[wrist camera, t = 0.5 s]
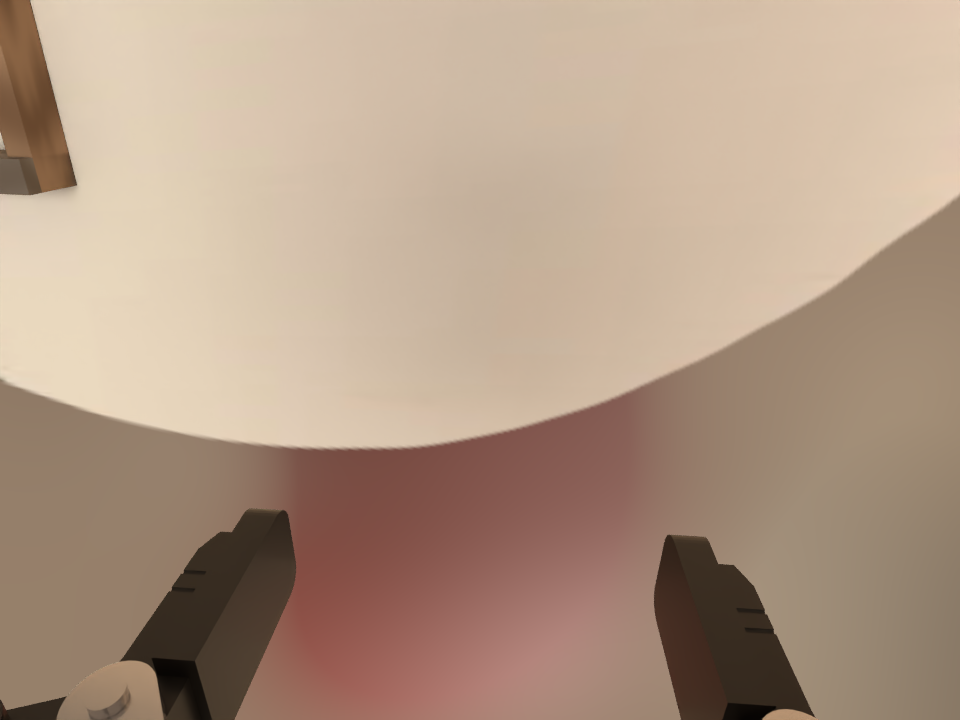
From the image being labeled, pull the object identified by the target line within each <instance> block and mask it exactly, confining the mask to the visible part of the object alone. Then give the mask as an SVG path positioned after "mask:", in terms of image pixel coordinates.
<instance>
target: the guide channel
mask: <svg viewBox="0 0 960 720" xmlns="http://www.w3.org/2000/svg"><path fill="white" fill-rule="evenodd" d="M0 132H1V135H2V139H3V142H4V145H5V149H6V150H0V194H15V195H33V194H37V193H42V192H47V191H51V190H56V189H61V188H66V187H70V186H75V185H77V184H76V180H75V177H74V173H73V169H72V165H71V161H70V157H69V153H68V149H67V145H66V141H65V137H64V133H63V130H62V126H61V122H60V118H59V114H58V110H57V106H56V102H55V98H54V94H53V90H52V86H51V83H50V79H49V75H48V71H47V67H46V63H45V59H44V55H43V51H42V47H41V43H40V39H39V36H38V32H37V28H36V24H35V20H34V16H33V12H32V8H31V4H30V0H0Z"/></svg>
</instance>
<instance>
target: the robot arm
mask: <svg viewBox="0 0 960 720" xmlns="http://www.w3.org/2000/svg"><path fill="white" fill-rule="evenodd" d="M295 575H296V561H295V555H294V548H293V542H292V537H291V530H290V523H289V518H288V514H287V512H286V511H284V510H269V509H253V508H251V509H248V510H247V511H246V512H245V513H244V514H243V516H242V517H241V519H240V521H239V522H238V524H237V525H236V527H235V528H234V530H233V532H220V533H218V534H217V535H216V536H214V537H213V538H212V539H210V540H209V541H208V542H207V543H205V544H204V545H203V546H202V547H200V548H199V549H198V550H197V552H196V553H195V555H194V556H193V558H192V559H191V560H190V562H189V563H188V565H187V566H186V568H185V569H184V573H183V574H181V575H180V576H179V578H178V579H177V581H176V582H175V583H174V585H173V586H172V591H171V592H170V591H169V592H168V593H167V595H166V597H165V598H164V600H163V601H162V602H161V604H160V605H159V606H158V608H157V609H156V611H155V612H154V614H153V615H152V617H151V618H150V620H149V621H148V622H147V624H146V625H145V627H144V628H143V630H142V631H141V632H140V634H139V635H138V637H137V638H136V640H135V641H134V643H133V644H132V645H131V647H130V648H129V650H128V651H127V653H126V654H125V655H124V657H123V658H122V659H121V661H120V662H118V663H113V664H111V665H108V666H106V667H103V668H101V669H99V670H97V671H96V672H94V673H92V674H91V675H89V676H88V677H86V678H85V679H84V680H82V681H81V682H80V683H79V684H78V685H77V686H76V687H75V688H74V689H73V690H72V691H71V692H70V693H69V694H68V696H66V697H63V698H59V699H55V700H51V701H46V702H41V703H37V704H33V705H29V706H24V707H19V708H15V709H11V710H6V709H5V707H4V705H3V703H2V701H1V700H0V720H234V719H235V717H236V715H237V712H238V710H239V708H240V706H241V703H242V701H243V699H244V696H245V695H246V692H247V690H248V688H249V686H250V684H251V681H252V679H253V677H254V675H255V672H256V670H257V668H258V666H259V664H260V661H261V659H262V657H263V655H264V653H265V650H266V648H267V646H268V644H269V641H270V639H271V637H272V635H273V633H274V630H275V628H276V626H277V624H278V621H279V619H280V617H281V615H282V613H283V610H284V608H285V606H286V604H287V601H288V599H289V597H290V595H291V592H292V589H293V586H294V581H295ZM654 608H655V616H656V621H657V625H658V629H659V633H660V637H661V641H662V645H663V649H664V653H665V656H666V661H667V665H668V669H669V673H670V677H671V681H672V685H673V688H674V693H675V697H676V701H677V705H678V709H679V713H680V716H681V720H818V719H816V718H815V716H814V714H813V712H812V711H811V709H810V707H809V705H808V702H807V700H806V698H805V696H804V694H803V692H802V690H801V687H800V685H799V683H798V681H797V678H796V676H795V674H794V672H793V670H792V668H791V666H790V663H789V661H788V659H787V657H786V655H785V653H784V650H783V648H782V646H781V644H780V642H779V640H778V637H777V636H776V635H775V634H774V629H773V627H772V625H771V622H770V620H769V618H768V616H767V615H766V614H765V612H764V611H765V610H764V608H763V605H762V603H761V601H760V599H759V596H758V594H757V592H756V590H755V588H754V586H753V585H752V584H751V583H750V582H749V581H748V580H747V579H746V577H745V576H744V575H742V573H741V572H740V571H739V570H738V569H737V568H736V567H735V566H734V565H723V564H718V563H717V560H716V558H715V555H714V553H713V550H712V548H711V546H710V543H709V541H708V540H707V538H705V537H697V536H681V535H667V537H666V539H665V542H664V547H663V551H662V556H661V561H660V566H659V570H658V575H657V580H656V585H655V591H654Z"/></svg>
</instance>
